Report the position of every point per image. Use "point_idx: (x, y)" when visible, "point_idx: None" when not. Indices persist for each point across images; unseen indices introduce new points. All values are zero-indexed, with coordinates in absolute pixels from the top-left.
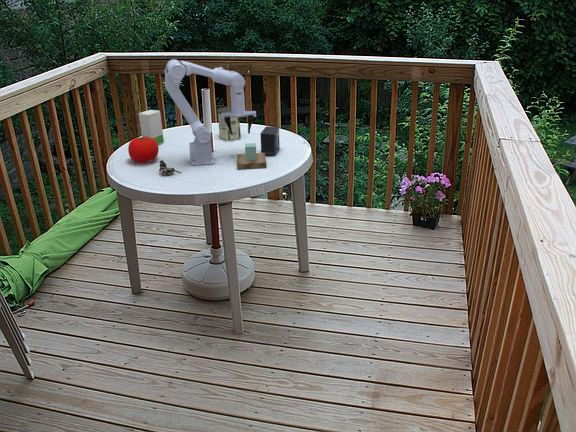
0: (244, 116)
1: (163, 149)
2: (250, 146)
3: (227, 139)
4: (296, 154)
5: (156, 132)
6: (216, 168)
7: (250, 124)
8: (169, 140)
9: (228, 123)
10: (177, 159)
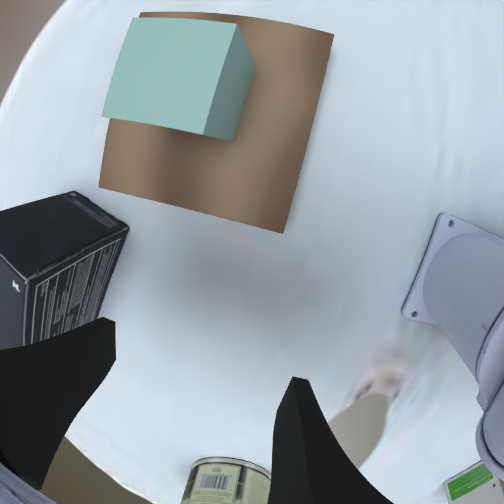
0: (35, 494)
1: None
2: (177, 26)
3: (250, 469)
4: (6, 185)
5: (477, 499)
6: (441, 135)
7: (20, 353)
8: (419, 494)
9: (345, 489)
10: None
